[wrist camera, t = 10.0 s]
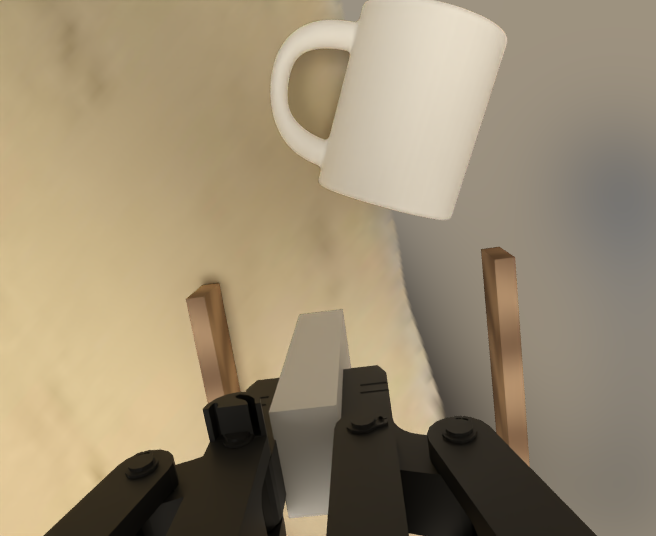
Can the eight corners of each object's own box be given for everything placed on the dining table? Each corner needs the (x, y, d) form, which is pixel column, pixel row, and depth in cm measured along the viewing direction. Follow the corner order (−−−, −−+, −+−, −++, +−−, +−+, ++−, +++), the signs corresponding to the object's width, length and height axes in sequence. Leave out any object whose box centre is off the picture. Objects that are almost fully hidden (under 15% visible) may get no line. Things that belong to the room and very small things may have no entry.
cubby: (202, 285, 36) (185, 299, 32) (499, 246, 34) (515, 257, 31) (261, 574, 41) (252, 612, 37) (522, 554, 39) (538, 592, 36)
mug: (487, 55, 32) (529, 23, 24) (439, 211, 34) (462, 229, 26) (300, 5, 32) (280, -44, 24) (263, 164, 34) (234, 167, 26)
